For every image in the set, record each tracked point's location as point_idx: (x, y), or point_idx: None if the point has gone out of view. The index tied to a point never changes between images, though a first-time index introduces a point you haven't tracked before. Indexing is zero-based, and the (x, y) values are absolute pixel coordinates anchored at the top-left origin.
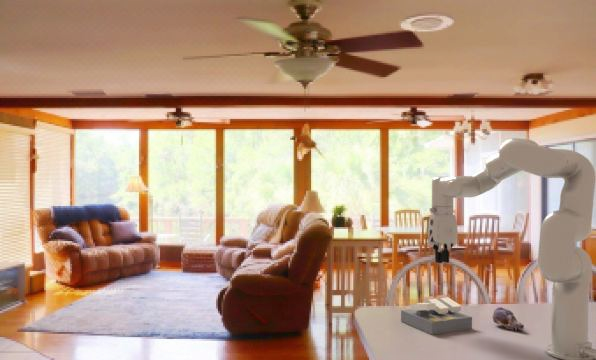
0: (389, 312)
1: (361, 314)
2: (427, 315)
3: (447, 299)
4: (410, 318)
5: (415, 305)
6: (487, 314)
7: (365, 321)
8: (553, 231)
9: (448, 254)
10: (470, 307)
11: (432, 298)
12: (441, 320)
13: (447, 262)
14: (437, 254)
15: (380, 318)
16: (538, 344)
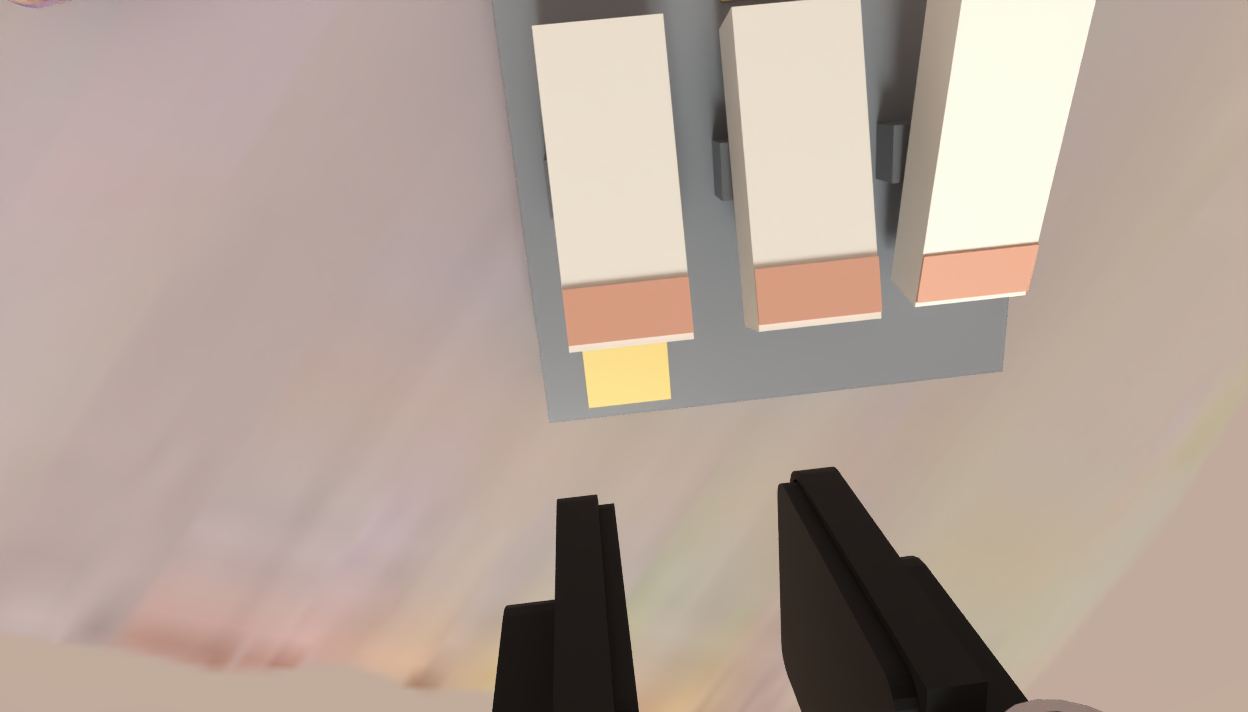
0: None
1: (1095, 586)
2: (900, 120)
3: (610, 222)
4: None
5: (1036, 207)
6: (49, 315)
7: (1196, 416)
8: None
9: (585, 642)
10: (96, 556)
11: (799, 265)
12: None
13: (595, 504)
14: (994, 698)
15: (1040, 458)
16: None
